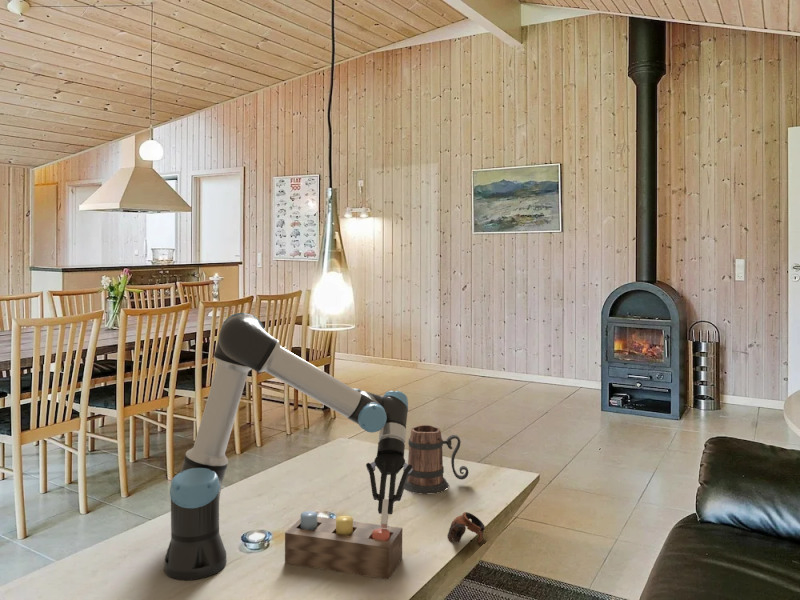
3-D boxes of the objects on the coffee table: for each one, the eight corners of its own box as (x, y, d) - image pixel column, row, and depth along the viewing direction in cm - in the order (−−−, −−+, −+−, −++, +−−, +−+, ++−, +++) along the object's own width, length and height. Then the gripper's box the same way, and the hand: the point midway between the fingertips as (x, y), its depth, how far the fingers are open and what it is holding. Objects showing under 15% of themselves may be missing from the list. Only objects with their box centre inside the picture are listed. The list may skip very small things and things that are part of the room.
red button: (369, 551, 159) (370, 534, 159) (375, 544, 163) (375, 527, 163) (386, 554, 158) (386, 536, 158) (391, 546, 162) (391, 529, 162)
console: (284, 563, 162) (284, 532, 161) (304, 543, 173) (304, 514, 173) (388, 579, 154) (389, 547, 154) (402, 557, 166) (402, 527, 165)
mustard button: (333, 538, 162) (333, 521, 162) (339, 531, 166) (339, 514, 166) (349, 540, 161) (349, 523, 160) (355, 533, 165) (355, 516, 165)
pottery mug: (453, 530, 184) (468, 507, 183) (477, 553, 179) (493, 529, 178) (434, 535, 174) (450, 510, 173) (460, 559, 169) (476, 534, 168)
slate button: (297, 533, 165) (297, 516, 164) (304, 526, 169) (304, 510, 169) (313, 535, 163) (313, 518, 163) (320, 528, 168) (320, 512, 167)
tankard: (401, 493, 211) (402, 435, 210) (400, 476, 228) (401, 422, 226) (471, 494, 211) (472, 435, 210) (465, 477, 228) (466, 422, 227)
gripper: (415, 449, 179) (409, 532, 164) (370, 448, 180) (360, 530, 165) (413, 437, 173) (408, 521, 158) (367, 435, 175) (357, 518, 160)
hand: (383, 525), depth 162 cm, fingers closed
